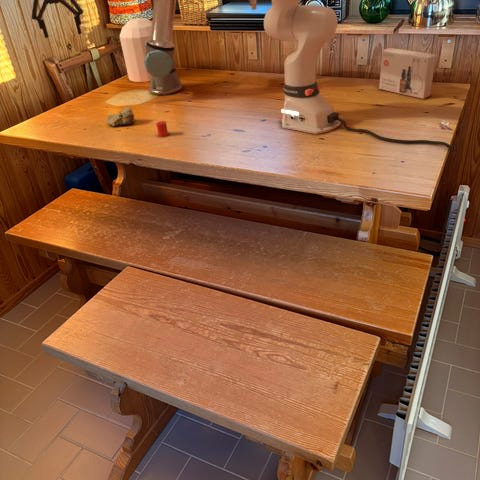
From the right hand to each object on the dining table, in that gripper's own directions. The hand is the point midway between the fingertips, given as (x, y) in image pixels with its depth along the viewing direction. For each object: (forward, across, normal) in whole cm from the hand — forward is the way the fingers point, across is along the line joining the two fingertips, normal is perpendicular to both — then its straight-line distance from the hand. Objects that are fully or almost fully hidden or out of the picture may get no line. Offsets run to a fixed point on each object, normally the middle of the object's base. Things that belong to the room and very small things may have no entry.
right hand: (253, 7), depth 187 cm
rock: (+34, +23, -58) cm, 71 cm away
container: (+34, -45, -54) cm, 78 cm away
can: (+34, +40, -40) cm, 66 cm away
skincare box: (+34, +22, +58) cm, 70 cm away
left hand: (+4, -2, -79) cm, 79 cm away
